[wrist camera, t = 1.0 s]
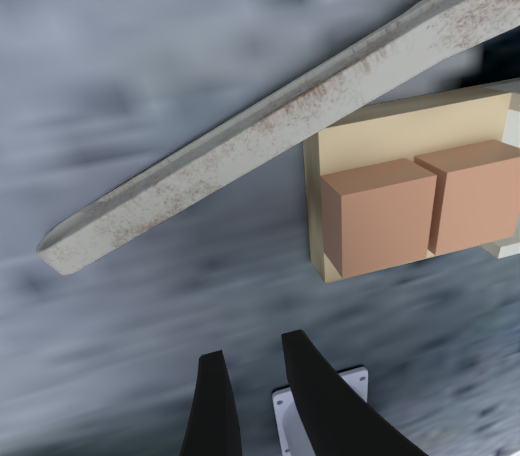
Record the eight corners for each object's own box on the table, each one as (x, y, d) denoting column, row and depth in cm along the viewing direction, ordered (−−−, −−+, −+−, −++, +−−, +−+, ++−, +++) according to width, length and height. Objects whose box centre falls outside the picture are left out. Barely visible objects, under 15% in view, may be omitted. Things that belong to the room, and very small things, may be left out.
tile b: (399, 233, 20) (426, 257, 18) (323, 251, 20) (342, 278, 18) (405, 157, 18) (437, 175, 16) (320, 175, 17) (341, 196, 15)
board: (451, 226, 24) (478, 245, 22) (310, 260, 23) (325, 283, 21) (474, 85, 20) (512, 92, 18) (301, 118, 18) (318, 129, 16)
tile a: (478, 215, 21) (513, 236, 19) (407, 231, 20) (435, 255, 18) (493, 139, 19) (535, 153, 16) (414, 156, 18) (447, 172, 16)
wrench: (65, 203, 21) (595, -127, 16) (88, 225, 22) (595, -78, 17) (-5, 299, 14) (889, -225, 9) (32, 326, 15) (861, -134, 10)
